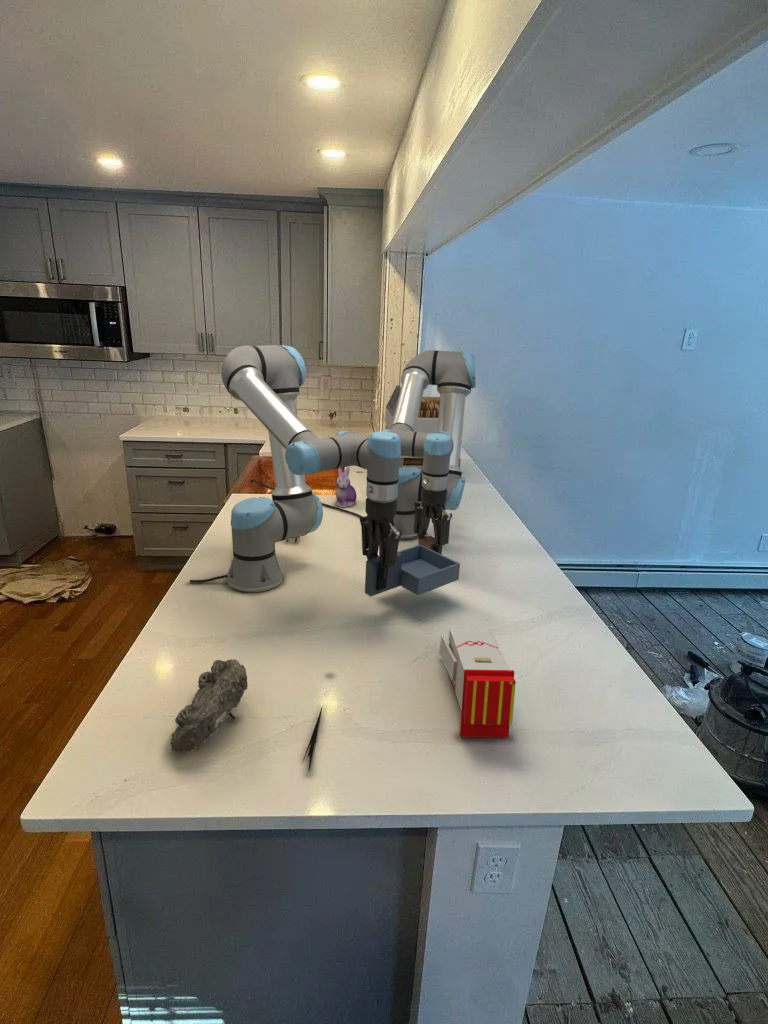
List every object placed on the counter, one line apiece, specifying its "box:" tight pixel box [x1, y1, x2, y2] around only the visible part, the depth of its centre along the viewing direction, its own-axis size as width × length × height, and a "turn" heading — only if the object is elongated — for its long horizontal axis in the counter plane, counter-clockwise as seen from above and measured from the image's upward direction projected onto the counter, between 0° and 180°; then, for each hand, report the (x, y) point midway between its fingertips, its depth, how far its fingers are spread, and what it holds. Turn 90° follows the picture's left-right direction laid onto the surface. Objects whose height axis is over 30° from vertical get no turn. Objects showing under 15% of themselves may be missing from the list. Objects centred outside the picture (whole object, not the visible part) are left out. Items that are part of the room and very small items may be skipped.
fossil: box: [170, 658, 249, 753], centre depth 106 cm, size 22×10×15 cm
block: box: [417, 535, 440, 550], centre depth 171 cm, size 5×5×7 cm
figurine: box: [335, 466, 357, 508], centre depth 225 cm, size 9×10×15 cm
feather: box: [301, 673, 332, 771], centre depth 108 cm, size 2×28×2 cm
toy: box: [438, 628, 517, 738], centre depth 117 cm, size 12×13×30 cm
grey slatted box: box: [384, 384, 464, 469], centre depth 268 cm, size 34×33×41 cm
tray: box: [364, 544, 461, 597], centre depth 147 cm, size 15×25×9 cm, turn 131°
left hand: (377, 586), depth 143 cm, fingers closed on tray, 2 cm apart
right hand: (429, 559), depth 172 cm, fingers closed on block, 5 cm apart
